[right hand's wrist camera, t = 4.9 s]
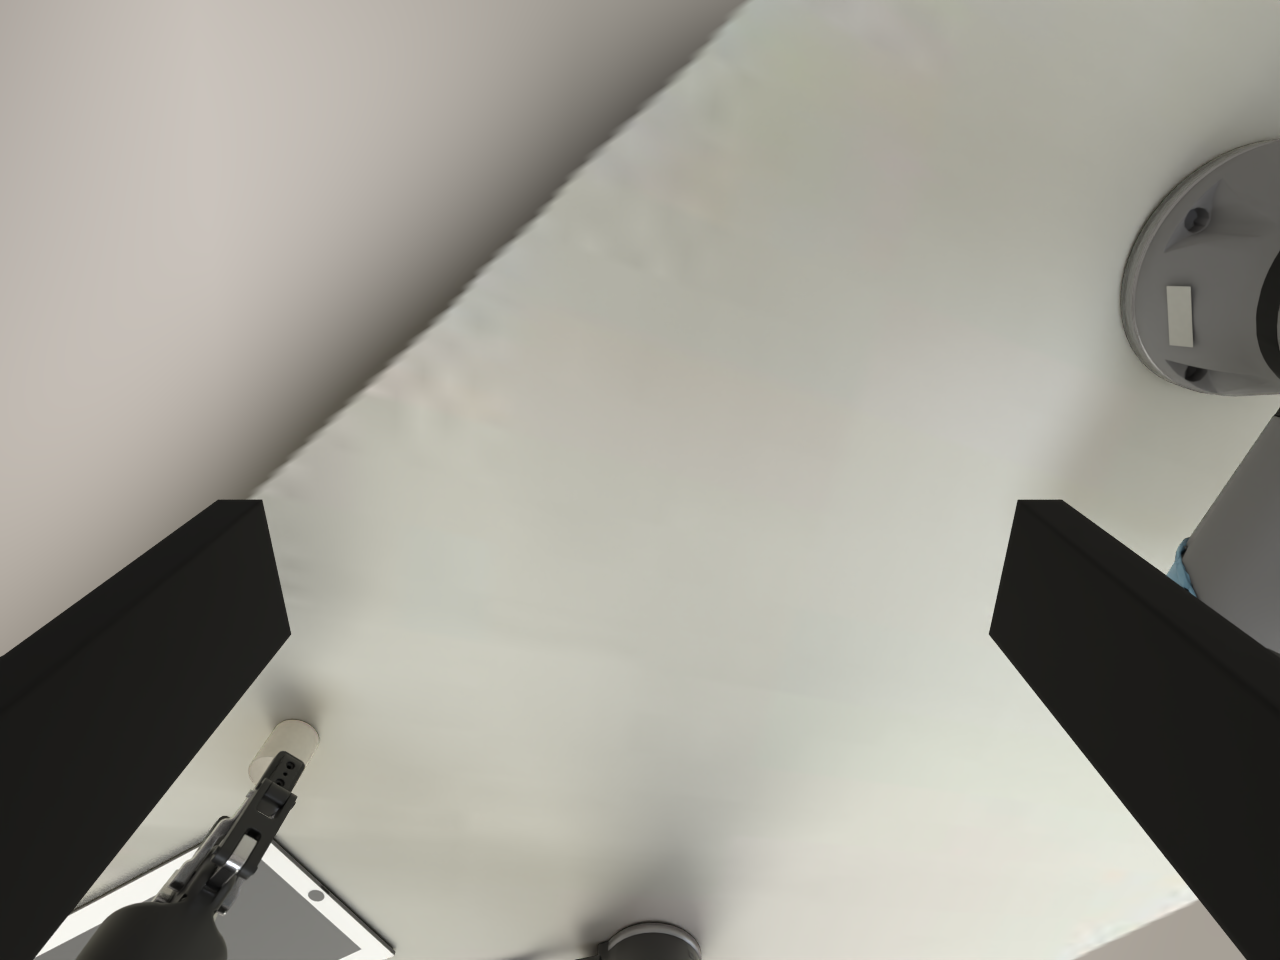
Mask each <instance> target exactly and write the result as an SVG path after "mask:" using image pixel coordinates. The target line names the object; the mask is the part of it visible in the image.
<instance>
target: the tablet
mask: <svg viewBox="0 0 1280 960" xmlns="http://www.w3.org/2000/svg"><path fill="white" fill-rule="evenodd" d="M200 845H201V844H199V845H197V846H195V847H194V848H192V849H190V850H188V851H186V852H184V853H182V854H180V855H178V856H177V857H175V858H173V859H171V860H169V861H167V862H165V863H163V864H161V865H160V866H158V867H156V868H154V869H152V870H150V871H148V872H146V873H144V874H143V875H141V876H139V877H137V878H135V879H133V880H131V881H129V882H127V883H126V884H124V885H122V886H120V887H118V888H116V889H114V890H112V891H110V892H108V893H107V894H105V895H103V896H101V897H99V898H97V899H95V900H93V901H91V902H90V903H88V904H86V905H84V906H82V907H80V908H78V909H76V910H74V911H73V912H71V913H70V914H69V915H68V917H67V918H66V919H65V920H64V922H63V923H62V924H61V925H60V927H59V928H58V929H57V931H56V932H55V933H54V934H53V936H52V937H51V938H50V939H49V941H48V942H47V943H46V944H45V946H44V947H43V948H42V949H41V951H40V952H39V953H38V954H37V956H36V957H35V958H34V960H75V959H76V958H77V956H78V955H79V954H80V952H81V951H82V949H83V948H84V947H85V945H86V944H87V943H88V941H89V940H90V938H91V937H92V936H93V934H94V933H95V932H96V930H97V929H98V928H99V926H100V925H101V924H102V922H103V921H104V920H105V919H106V918H107V917H108V916H109V915H111V914H112V913H113V912H115V911H116V910H118V909H120V908H122V907H125V906H128V905H131V904H135V903H141V902H151V901H152V900H153V898H154V897H155V896H156V894H157V893H158V892H159V891H160V889H161V888H162V887H163V886H164V884H165V883H166V882H167V881H168V880H169V878H170V877H171V876H172V874H173V873H174V872H175V871H176V870H177V869H179V868H180V867H181V866H182V864H183V863H184V862H185V861H187V860H189V859H191V858H192V857H193V855H194V854H195V852H196V851H197V849H198V848H199V846H200ZM257 867H258V869H257V871H256V872H255V873H254V875H253V876H252V875H251V876H250V877H249V879H248V880H245V881H244V882H243V883H242V885H241V892H240V895H239V896H238V898H237V899H236V900H235V902H234V903H233V905H232V906H231V908H230V909H229V910H228V912H227V913H226V914H225V915H224V916H222V915H220V914H218V915H217V918H216V920H215V924H216V927H217V929H218V930H219V932H220V934H221V935H222V936H223V938H224V940H225V943H226V946H227V951H228V958H227V960H385V959H387V958H389V957H392V956H394V954H395V951H394V950H393V949H392V948H391V947H390V946H389V945H388V944H387V943H385V942H384V941H383V940H382V939H381V938H380V937H379V936H378V935H377V934H376V933H375V932H373V931H372V930H371V929H370V928H369V927H368V926H367V925H366V924H365V923H364V922H363V921H361V920H360V919H359V918H358V917H357V916H356V915H355V914H354V913H353V912H352V911H351V910H349V909H348V908H347V907H346V906H345V905H344V904H343V903H342V902H341V901H340V900H339V899H337V898H336V897H335V896H334V895H333V894H332V893H331V892H330V891H329V890H328V889H327V888H325V887H324V886H323V885H322V884H321V883H320V882H319V881H318V880H317V879H316V878H315V877H313V876H312V875H311V874H310V873H309V872H308V871H307V870H306V869H305V868H304V867H303V866H301V865H300V864H299V863H298V862H297V861H296V860H295V859H294V858H293V857H292V856H291V855H289V854H288V853H287V852H286V851H285V850H284V849H283V848H282V847H281V846H280V845H279V844H277V843H276V842H275V841H274V840H272V842H271V844H270V845H269V847H268V849H267V851H266V852H265V854H264V856H263V857H262V859H261V861H260V863H259V864H258V866H257Z"/></svg>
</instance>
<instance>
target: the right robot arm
mask: <svg viewBox="0 0 1280 960" xmlns="http://www.w3.org/2000/svg"><path fill="white" fill-rule="evenodd" d="M1121 314H1122V321H1123V326H1124V330H1125V333H1126V336H1127V339H1128V341H1129V343H1130V345H1131V347H1132V349H1133V350H1134V352H1135V354H1136V355H1137V357H1138V358H1139V359H1140V360H1141V361H1142V363H1143V364H1144V365H1145V366H1146V367H1147V368H1149V369H1150V370H1151V371H1152V372H1154V373H1155V374H1156V375H1158V376H1159V377H1161V378H1163V379H1165V380H1167V381H1169V382H1171V383H1174V384H1176V385H1179V386H1182V387H1185V388H1187V389H1190V390H1194V391H1197V392H1201V393H1207V394H1215V395H1223V396H1251V395H1270V394H1280V139H1274V140H1267V141H1261V142H1257V143H1253V144H1248V145H1246V146H1243V147H1240V148H1237V149H1234V150H1232V151H1230V152H1227V153H1225V154H1223V155H1221V156H1219V157H1217V158H1215V159H1213V160H1212V161H1210V162H1208V163H1207V164H1205V165H1204V166H1202V167H1200V168H1199V169H1197V170H1196V171H1195V172H1193V173H1192V174H1191V175H1190V176H1188V177H1187V178H1186V179H1184V180H1183V181H1182V182H1181V183H1180V184H1179V185H1178V186H1177V187H1176V188H1174V189H1173V191H1172V192H1171V193H1170V194H1169V195H1168V196H1167V197H1166V198H1165V199H1164V200H1163V201H1162V202H1161V204H1160V205H1159V206H1158V207H1157V208H1156V210H1155V211H1154V212H1153V214H1152V215H1151V217H1150V218H1149V219H1148V221H1147V222H1146V224H1145V226H1144V227H1143V229H1142V231H1141V232H1140V234H1139V236H1138V238H1137V240H1136V242H1135V244H1134V246H1133V249H1132V251H1131V254H1130V256H1129V259H1128V262H1127V265H1126V269H1125V273H1124V277H1123V282H1122V290H1121ZM1276 416H1277V417H1276ZM1279 417H1280V408H1279V410H1278V411H1277V412H1276V414H1275V415H1274V416H1273V417H1272V418H1271V420H1270V421H1269V423H1268V424H1267V426H1266V427H1265V429H1264V430H1263V432H1262V433H1261V434H1260V436H1259V437H1258V439H1257V440H1256V442H1255V443H1254V445H1253V446H1252V448H1251V449H1250V450H1249V452H1248V453H1247V455H1246V456H1245V458H1244V459H1243V461H1242V462H1241V464H1240V465H1239V466H1238V468H1237V469H1236V471H1235V472H1234V474H1233V475H1232V477H1231V478H1230V480H1229V481H1228V482H1227V484H1226V485H1225V487H1224V488H1223V490H1222V491H1221V493H1220V494H1219V496H1218V497H1217V499H1216V500H1215V501H1214V503H1213V504H1212V506H1211V507H1210V509H1209V510H1208V512H1207V513H1206V515H1205V516H1204V517H1203V519H1202V520H1201V522H1200V523H1199V525H1198V526H1197V528H1196V529H1195V531H1194V532H1193V533H1192V535H1191V536H1190V537H1189V538H1185V539H1184V540H1183V541H1182V543H1181V544H1180V545H1179V547H1178V549H1177V551H1176V557H1175V562H1174V564H1173V565H1172V567H1171V569H1170V570H1169V572H1168V574H1167V575H1165V574H1164V573H1162V572H1161V571H1159V570H1158V569H1157V568H1155V567H1154V566H1153V565H1151V564H1150V563H1148V562H1147V561H1146V560H1144V559H1143V558H1142V557H1140V556H1139V555H1137V554H1136V553H1135V552H1133V551H1132V550H1130V549H1129V548H1128V547H1126V546H1125V545H1124V544H1122V543H1121V542H1119V541H1118V540H1117V539H1115V538H1114V537H1113V536H1111V535H1110V534H1108V533H1107V532H1106V531H1104V530H1103V529H1102V528H1100V527H1099V526H1097V525H1096V524H1095V523H1093V522H1092V521H1091V520H1089V519H1088V518H1086V517H1085V516H1084V515H1082V514H1081V513H1079V512H1078V511H1077V510H1075V509H1074V508H1073V507H1071V506H1070V505H1068V504H1067V503H1066V502H1064V501H1063V500H1018V501H1017V506H1016V511H1015V515H1014V520H1013V524H1012V529H1011V534H1010V538H1009V543H1008V548H1007V552H1006V557H1005V562H1004V566H1003V571H1002V576H1001V580H1000V585H999V589H998V594H997V599H996V603H995V608H994V613H993V617H992V622H991V627H990V631H989V635H990V636H991V638H992V639H993V640H994V641H995V643H996V644H997V645H998V646H999V648H1000V649H1001V650H1002V651H1003V653H1004V654H1005V655H1006V657H1007V658H1008V659H1009V660H1010V662H1011V663H1012V664H1013V665H1014V667H1015V668H1016V669H1017V670H1018V672H1019V673H1020V674H1021V675H1022V677H1023V678H1024V679H1025V681H1026V682H1027V683H1028V684H1029V686H1030V687H1031V688H1032V689H1033V691H1034V692H1035V693H1036V694H1037V696H1038V697H1039V698H1040V699H1041V701H1042V702H1043V703H1044V704H1045V706H1046V707H1047V708H1048V710H1049V711H1050V712H1051V713H1052V715H1053V716H1054V717H1055V718H1056V720H1057V721H1058V722H1059V723H1060V725H1061V726H1062V727H1063V728H1064V730H1065V731H1066V732H1067V734H1068V735H1069V736H1070V737H1071V739H1072V740H1073V741H1074V742H1075V744H1076V745H1077V746H1078V747H1079V749H1080V750H1081V751H1082V752H1083V754H1084V755H1085V756H1086V758H1087V759H1088V760H1089V761H1090V763H1091V764H1092V765H1093V766H1094V768H1095V769H1096V770H1097V771H1098V773H1099V774H1100V775H1101V776H1102V778H1103V779H1104V780H1105V782H1106V783H1107V784H1108V785H1109V787H1110V788H1111V789H1112V790H1113V792H1114V793H1115V794H1116V795H1117V797H1118V798H1119V799H1120V800H1121V802H1122V803H1123V804H1124V806H1125V807H1126V808H1127V809H1128V811H1129V812H1130V813H1131V814H1132V816H1133V817H1134V818H1135V819H1136V821H1137V822H1138V823H1139V824H1140V826H1141V827H1142V828H1143V829H1144V831H1145V832H1146V833H1147V835H1148V836H1149V837H1150V838H1151V840H1152V841H1153V842H1154V843H1155V845H1156V846H1157V847H1158V848H1159V850H1160V851H1161V852H1162V853H1163V855H1164V856H1165V857H1166V859H1167V860H1168V861H1169V862H1170V864H1171V865H1172V866H1173V867H1174V869H1175V870H1176V871H1177V872H1178V874H1179V875H1180V876H1181V877H1182V879H1183V880H1184V881H1185V883H1186V884H1187V885H1188V886H1189V888H1190V889H1191V890H1192V891H1193V893H1194V894H1195V895H1196V896H1197V898H1198V899H1199V900H1200V901H1201V903H1202V904H1203V905H1204V906H1205V908H1206V909H1207V910H1208V912H1209V913H1210V914H1211V915H1212V917H1213V918H1214V919H1215V920H1216V922H1217V923H1218V924H1219V925H1220V927H1221V928H1222V929H1223V931H1224V932H1225V933H1226V934H1227V936H1228V937H1229V938H1230V939H1231V941H1232V942H1233V943H1234V944H1235V946H1236V947H1237V948H1238V949H1239V951H1240V952H1241V953H1242V954H1243V956H1244V957H1245V958H1246V959H1247V960H1280V418H1279ZM290 635H291V631H290V627H289V622H288V617H287V613H286V608H285V603H284V599H283V594H282V589H281V585H280V580H279V576H278V571H277V566H276V562H275V557H274V552H273V548H272V543H271V538H270V534H269V529H268V524H267V520H266V515H265V511H264V506H263V501H262V500H217V501H216V502H214V503H213V504H212V505H210V506H209V507H207V508H206V509H205V510H203V511H202V512H201V513H199V514H198V515H196V516H195V517H194V518H192V519H191V520H190V521H188V522H187V523H185V524H184V525H183V526H181V527H180V528H178V529H177V530H176V531H174V532H173V533H172V534H170V535H169V536H167V537H166V538H165V539H163V540H162V541H161V542H159V543H158V544H156V545H155V546H154V547H152V548H151V549H150V550H148V551H147V552H145V553H144V554H143V555H141V556H140V557H138V558H137V559H136V560H134V561H133V562H132V563H130V564H129V565H127V566H126V567H125V568H123V569H122V570H121V571H119V572H118V573H116V574H115V575H114V576H112V577H111V578H110V579H108V580H107V581H105V582H104V583H103V584H101V585H100V586H98V587H97V588H96V589H94V590H93V591H92V592H90V593H89V594H87V595H86V596H85V597H83V598H82V599H81V600H79V601H78V602H76V603H75V604H74V605H72V606H71V607H70V608H68V609H67V610H65V611H64V612H63V613H61V614H60V615H59V616H57V617H56V618H54V619H53V620H52V621H50V622H49V623H48V624H46V625H45V626H43V627H42V628H41V629H39V630H38V631H36V632H35V633H34V634H32V635H31V636H30V637H28V638H27V639H25V640H24V641H23V642H21V643H20V644H19V645H17V646H16V647H14V648H13V649H12V650H10V651H9V652H8V653H6V654H5V655H3V656H1V657H0V960H34V958H35V957H36V956H37V954H38V953H39V952H40V951H41V949H42V948H43V947H44V946H45V944H46V943H47V942H48V941H49V939H50V938H51V937H52V936H53V934H54V933H55V932H56V931H57V929H58V928H59V927H60V925H61V924H62V923H63V922H64V920H65V919H66V918H67V917H68V915H69V914H70V913H71V912H72V910H73V909H74V908H75V907H76V905H77V904H78V903H79V901H80V900H81V899H82V898H83V896H84V895H85V894H86V893H87V891H88V890H89V889H90V888H91V886H92V885H93V884H94V883H95V881H96V880H97V879H98V877H99V876H100V875H101V874H102V872H103V871H104V870H105V869H106V867H107V866H108V865H109V864H110V862H111V861H112V860H113V859H114V857H115V856H116V855H117V853H118V852H119V851H120V850H121V848H122V847H123V846H124V845H125V843H126V842H127V841H128V840H129V838H130V837H131V836H132V835H133V833H134V832H135V831H136V829H137V828H138V827H139V826H140V824H141V823H142V822H143V821H144V819H145V818H146V817H147V816H148V814H149V813H150V812H151V811H152V809H153V808H154V807H155V806H156V804H157V803H158V802H159V800H160V799H161V798H162V797H163V795H164V794H165V793H166V792H167V790H168V789H169V788H170V787H171V785H172V784H173V783H174V782H175V780H176V779H177V778H178V776H179V775H180V774H181V773H182V771H183V770H184V769H185V768H186V766H187V765H188V764H189V763H190V761H191V760H192V759H193V758H194V756H195V755H196V754H197V752H198V751H199V750H200V749H201V747H202V746H203V745H204V744H205V742H206V741H207V740H208V739H209V737H210V736H211V735H212V734H213V732H214V731H215V730H216V728H217V727H218V726H219V725H220V723H221V722H222V721H223V720H224V718H225V717H226V716H227V715H228V713H229V712H230V711H231V710H232V708H233V707H234V706H235V704H236V703H237V702H238V701H239V699H240V698H241V697H242V696H243V694H244V693H245V692H246V691H247V689H248V688H249V687H250V686H251V684H252V683H253V682H254V681H255V679H256V678H257V677H258V675H259V674H260V673H261V672H262V670H263V669H264V668H265V667H266V665H267V664H268V663H269V662H270V660H271V659H272V658H273V657H274V655H275V654H276V653H277V651H278V650H279V649H280V648H281V646H282V645H283V644H284V643H285V641H286V640H287V639H288V638H289V636H290Z"/></svg>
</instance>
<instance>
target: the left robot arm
mask: <svg viewBox="0 0 1280 960" xmlns="http://www.w3.org/2000/svg"><path fill="white" fill-rule="evenodd" d="M304 769H305V764H304V762H303V761H301V760H300V759H298V758H296V757H295V756H293V755H291V754H290V753H288V752H286V751H280V752H279V753H278V754H277V755H276V756H275V757H274V758H273V760H272V761H271V763H270V765H269V766H268V768H267V769H266V771H265V772H264V774H263V775H262V777H261V779H260V780H259V782H258V783H257V785H256V786H255V788H254V789H253V790H250V791H249V792H248V794H247V795H246V797H247V798H246V799H245V801H244V802H243V803H242V805H241V806H240V807H239V809H238V810H237V811H236V813H235V814H234V816H233V817H231V818H230V817H228V816H222V817H220V818H219V819H218V820H217V822H216V823H215V824H214V825H213V827H212V828H211V830H210V831H209V833H208V834H207V836H206V837H205V839H204V840H203V842H202V843H201V845H200V846H199V848H198V849H197V851H196V852H195V854H194V855H193V857H192V858H191V859H189V860H187V861H185V862H184V863H183V864H182V866H181V867H180V868H179V869H177V870H176V871H175V872H174V873H173V874H172V876H171V877H170V878H169V880H168V881H167V882H166V883H165V884H164V886H163V887H162V888H161V889H160V891H159V892H158V893H157V894H156V896H155V897H154V898H153V900H152V901H151V902H141V903H135V904H131V905H128V906H125V907H122V908H120V909H118V910H116V911H115V912H113V913H112V914H111V915H109V916H108V917H107V918H106V919H105V920H104V921H103V922H102V924H101V925H100V926H99V928H98V929H97V930H96V932H95V933H94V934H93V936H92V937H91V938H90V940H89V941H88V943H87V944H86V945H85V947H84V948H83V949H82V951H81V952H80V954H79V955H78V956H77V958H76V959H75V960H227V958H228V951H227V946H226V943H225V940H224V938H223V936H222V935H221V934H220V932H219V930H218V929H217V927H216V924H215V920H216V918H217V915H218V914H220V915H222V916H224V915H225V914H226V913H227V912H228V910H229V909H230V908H231V906H232V905H233V903H234V902H235V900H236V899H237V898H238V896H239V895H240V892H241V885H242V883H243V882H244V881H245V880H248V879H249V877H250V876H251V875H252V876H253V875H254V873H255V872H256V871H257V869H258V867H257V866H258V864H259V863H260V861H261V859H262V857H263V856H264V854H265V852H266V851H267V849H268V847H269V845H270V844H271V842H272V840H273V838H274V837H275V835H276V833H277V832H278V830H279V828H280V826H281V825H282V823H283V821H284V819H285V818H286V816H287V814H288V813H289V811H290V810H291V809H292V808H293V806H294V805H295V803H296V802H295V801H296V799H297V796H296V795H294V794H293V793H291V791H292V790H293V788H294V786H295V784H296V783H297V781H298V779H299V778H300V776H301V774H302V772H303V771H304ZM258 811H259V812H258ZM260 812H261V813H260ZM262 813H263V814H264V815H263V814H262ZM265 815H266V816H265ZM267 816H268V817H267ZM576 960H701V951H700V947H699V945H698V943H697V942H696V940H695V939H694V938H693V937H692V936H691V935H690V934H688V933H687V932H685V931H684V930H682V929H680V928H677V927H675V926H672V925H668V924H662V923H643V924H638V925H634V926H631V927H628V928H625V929H624V930H622V931H620V932H618V933H617V934H616V935H614V936H613V937H612V938H611V939H610V941H608V942H606V943H601V944H599V945H598V955H597V956H592V957H586V958H581V959H576Z"/></svg>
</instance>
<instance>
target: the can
mask: <svg viewBox="0 0 1280 960" xmlns="http://www.w3.org/2000/svg"><path fill="white" fill-rule="evenodd" d="M318 745H319V737H318V734H317V732H316V731H315V729H314V728H313V727H312V726H310V725H309V724H307V723H305V722H303V721H300V720H286V721H283V722H281V723H279V724H278V725H277V726H276V727H275V729H274V730H273V732H272V733H271V735H270V736H269V738H268V739H267V741H266V742H265V743H264V745H263V746H262V748H261V749H260V751H259V752H258V754H257V755H256V757H255V758H254V760H253V761H252V763H251V764H250V766H249V776H250V779H251V780H252V782H253V783H254V784H255V785H257V783H258V782H259V780H260V779H261V777H262V775H263V774H264V772H265V771H266V769H267V768H268V766H269V765H270V763H271V761H272V760H273V758H274V757H275V756H276V755H277V754H278V753H279V752H280V751H286V752H288V753H290V754H291V755H293V756H295V757H296V758H298V759H300V760H301V761H303V762H304V764H305V768H306V766H307V764H308V763H309V761H310V759H311V757H312V756H313V754H314V752H315V751H316V749H317V747H318ZM302 773H303V772H302ZM301 775H302V774H301ZM298 780H299V779H298ZM295 785H296V784H295Z"/></svg>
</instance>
